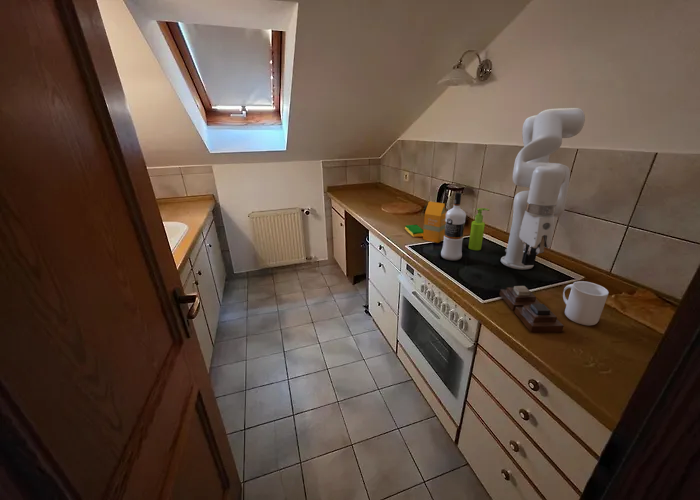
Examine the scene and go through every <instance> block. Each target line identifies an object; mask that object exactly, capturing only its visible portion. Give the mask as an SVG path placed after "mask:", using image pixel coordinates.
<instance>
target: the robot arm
mask: <svg viewBox="0 0 700 500" xmlns="http://www.w3.org/2000/svg"><path fill="white" fill-rule="evenodd" d="M585 121H586V114H585V112H584V110H583V109H581V108H580V107H566V108H565V107H564V108H563V107H562V108H548V109H544V110H542V111H540V112H539V113H538V114H534V115H531V116H528V117H526V119H525V120H524V121H523V124H522V131H521V132H522V133H521V137H522V143H523V147H522V148H521V149H520V150H519V151H518V153H517V155H516V157H515V159H514V163H513V170H512V182H513V184H514V185H515V186H518V187H522V188H523V187H524V188H528V189H529V190H522V191H519V192H517V193H516V194H515V195H514V198H513V207H512V208H513V210H512V211H513V212H512V219H511V226H510V230H509V237H508V240H507V241H508V242H507V247H506V248H505V249H504V252H505V255H503V256H502V257H501V258H500V262H501V264H503V265H504V266H505V267H507V268H511V269H515V270H530V269H533V267H534V266H535V264H536V258H537V256H538V255H539V254H544V253H545V252H544V251H545V249H549V248H551V245H552V241H553V236H554V235H553V234H554V229H555V218H559V217H561V216H562V215H563V214H564V212H565V209H566V205H567V199H568V192H569V185H570V179H571V170H570V167H569V166H568V165H566V164H563V163H559V162H550V158H551V157H550V156H551V155H552V154H554V153H555V152H557V151H558V150H559V149H560V148H561V147H562V144H563V139H569V138H573V137H575V136H578V134H580V132H581V131H582V130H583V128H584V126H585Z"/></svg>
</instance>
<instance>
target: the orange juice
mask: <svg viewBox="0 0 700 500" xmlns="http://www.w3.org/2000/svg"><path fill="white" fill-rule="evenodd" d="M446 213H447V208H446V203H445V202H444V203H443V202H437V201H428V203H427V205H426V208H425V211H424V219H423V230H424V232H423V236H422V240H424V241H428V242H432V243H436V244H439V243H441V242H442V241H444V232H445V222H446V221H445V219H446Z"/></svg>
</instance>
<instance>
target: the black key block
mask: <svg viewBox="0 0 700 500" xmlns="http://www.w3.org/2000/svg"><path fill="white" fill-rule="evenodd" d="M530 308H531V305H523V307H516V308H515V311H514V314H515V315H516V316H517V318H518V319H519V320H520V321H521V323H523V325H524V326H525V327H526V328H527V329H528V330H529V332H530V333H562V332H563V330H564V327H565V326H564V324H562V322H561V321H560V320H559V319H558V316H556V315H555V313H554V312H552V310H550V314H549V315H536V314H535V313H534V312H533V311H532V310H531V309H530Z"/></svg>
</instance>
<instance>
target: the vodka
mask: <svg viewBox="0 0 700 500" xmlns="http://www.w3.org/2000/svg"><path fill="white" fill-rule="evenodd" d="M462 193H463V192H458V191H457V192H455V193H454V199H453V200H454V201H453V206H452V208H449V209H448V210H446V212H447V213H446V219H445V221H446V222H445V232H444V239H443V243H442V247H441V250H440V256H441V258H443V259H444V260H445V261H451V262H452V261H454V262H455V261H459V260H461V259H462V257H463V252H462V251H463V240H464V231H465V224H466V218H467V213H466V211H465V210H464V209H462V208H461V200H462Z"/></svg>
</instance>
